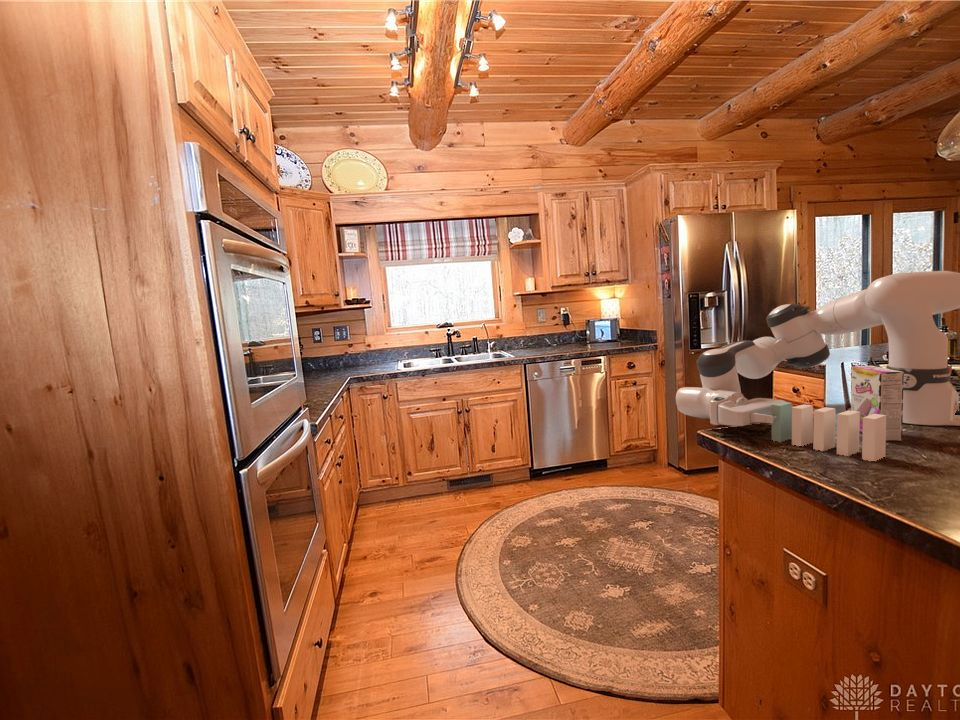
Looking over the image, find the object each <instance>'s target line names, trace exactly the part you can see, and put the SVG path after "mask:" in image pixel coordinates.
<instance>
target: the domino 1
mask: <svg viewBox="0 0 960 720" xmlns="http://www.w3.org/2000/svg"><path fill="white" fill-rule="evenodd" d="M792 407H793V402H790V401H789V402H788V401H786V402H780V403H776V404H772V415H775V416H776V422H774V423H771V441H772V440H773V441H772V442H775V441H778V442H777V443H783V442H786V441H789V440H792ZM788 439H789V440H788ZM785 440H786V441H785ZM782 441H783V442H782Z"/></svg>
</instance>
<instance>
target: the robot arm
mask: <svg viewBox="0 0 960 720" xmlns="http://www.w3.org/2000/svg"><path fill="white" fill-rule="evenodd" d="M810 309H811V306H809V305H802V304H800V303H799V304H798V303H792V302H791V303H787V304H782V305H779V306H777V307H775V308H774V309H772V310H771V311H770V312H769V314H768V315H767V316H766V317H765V320H766V323H767V327H768V328H770V330H771V332H772V334H773V336H774V337H772V336H762V337H758V338H755V339H754V340H746V339H743V340H736V341H732V342H730V343H728V344H727V343H726V344H724V345H722V346H719V347H717V348H713V349H707V350H706V351H703V352H702V353H701V354H700V355H699V356H698V358H697V359H696V362H695V363H696V367H697V370H698V373H699V376H700V377H699V378H700V381H701V386H702V387H694V386H691V387H690V386H685V387H684V386H683V387H680V388H679V389H677V391H676V394H675V398H674V399H675V406H676V408H677V410H678V411H679V412H680V413H681V414H683V415H686V416H689V417H692V418H693V417H694V418H697V419H702V420H707V419H709V420H710V421H709V422H710V424H711V425H714V426H719V425H724V426H733V427H744V426H747V425H751V424H754V423H767V424H772V423H774V422H776V416H775V415H772V404H776V403H780V402H787V401H786V400H783V399H777V398H776V399H775V398H767V397H764V398H763V397H754V398H751V399H748V398H746V397H745V395H744V394H743V393H742V391H741V385H740V380H739V375H741V376H742V377H744V378H747V379H752V380H755V379H756V380H758V379H762V378H764V377H767V376H768V375H769V374H771V372H772V371H773V370H774V369H775V368H776V367H778V365H779V364H780V363H781V362H783V361H785V362H784V363H785V365H786V366H793V367H795V368H800V369H808V368H813V367H817V366H820V364H822V363H824V362H825V361H826V360H828V359H829V357H830V355H831V352H830V348H829V345H828V344H826V343H825V340H824V338H823V336H822V335H827V336H830V335H831V336H832V335H833V336H835V335H842V334H843V335H844V334H850V333H854V332H859V331H863V330H865V329H870V328H874V327H879V326H884V328H885V332H886V335H887V338H888V339H887V340H888V365H887V366H886V369H891V370H896V371H901V372H904V380H903V423H902V424H909V425H920V426H922V425H923V426H957V427H958V426H959V427H960V416H956V415H955V413H956V411H957V410H958V411H959V410H960V405H959V403H960V402H959V400H960V395H959V392H957V390H956V389H955V387H954V386H953V385H952V384H951V382H950V381H952V378H951V375H952V370H953V368H952V367H951V366H948V361H949V360H948V358H949V356H948V355H949V354H948V353H949V338H948V336H947V334H945V333H944V332H942V331H941V330H939V328H938V326H937V325H936V323H935V321H934V318H933V315H939V314H944V313H947V312H952V311H955V310H958V309H960V272H957V271H952V270H951V271H950V270H932V271H931V270H929V271H915V272H913V271H912V272H898V273H892V274H889V275H886V276H885V275H884V276H882V277H880V278H877V279H875V280H873V281H872V282H871V283H870V284H869V285H868V286H867V288H865V289H862V290H860V291H856V292H853V293H850V294H847V295H846V296H845V295H844V296H842V297H839V298H836V299H834V300H832V301H829V302H828V303H826V304H824V305H822V306H820V307H819V308H817V309H815V310H810ZM738 374H739V375H738Z"/></svg>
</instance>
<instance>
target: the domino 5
mask: <svg viewBox="0 0 960 720" xmlns="http://www.w3.org/2000/svg"><path fill="white" fill-rule="evenodd" d="M886 442H887V441H886V415H881V414H872V415H869V416H866V417H863V434H862V442H861V443H862V446H861V447H862V448H861V451H862V452H861V460H862V459H863V461H866V460H868V461H867V462H871V461H875V462H877V460H878V461H880V460H882V459H884V458H883V457H885V458H886V448H887V447H886V444H887V443H886ZM881 458H882V459H881ZM879 459H880V460H879Z"/></svg>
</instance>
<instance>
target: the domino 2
mask: <svg viewBox="0 0 960 720" xmlns="http://www.w3.org/2000/svg"><path fill="white" fill-rule="evenodd" d="M813 430H814V405H812V404H811V405H810V404H800V405H796V406H792V439H791V445H792V446H794V445H796V447H799V446H802V447H804V445H805V446H808V445H810V443H811V444H813ZM807 444H808V445H807Z"/></svg>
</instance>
